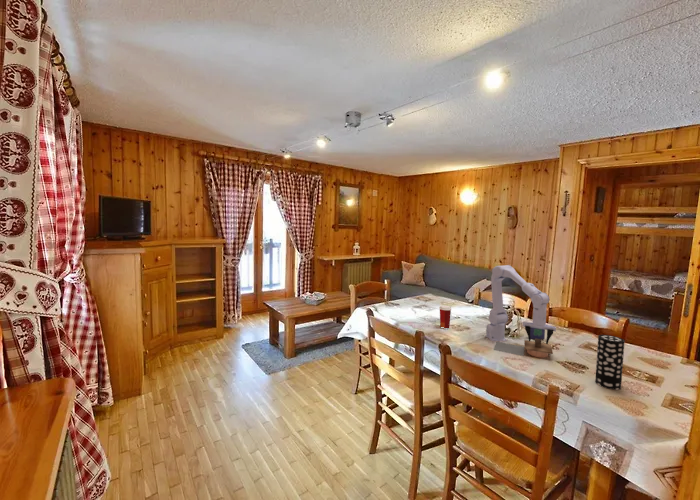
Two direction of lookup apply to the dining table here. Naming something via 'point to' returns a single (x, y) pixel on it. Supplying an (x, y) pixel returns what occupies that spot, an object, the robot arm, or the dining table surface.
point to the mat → (509, 348)
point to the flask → (537, 333)
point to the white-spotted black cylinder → (609, 361)
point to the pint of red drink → (445, 316)
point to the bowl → (537, 353)
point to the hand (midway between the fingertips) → (538, 342)
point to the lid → (538, 346)
